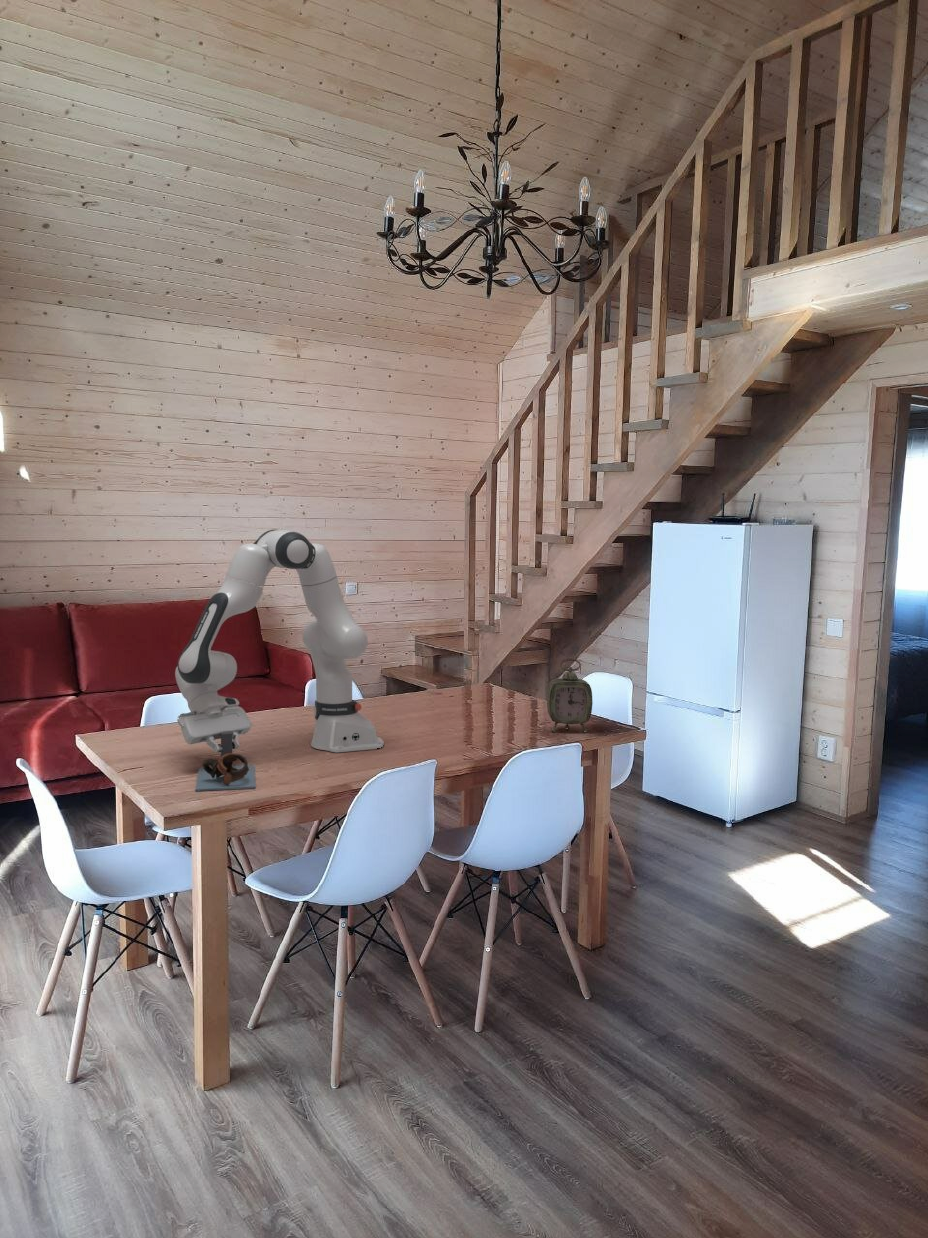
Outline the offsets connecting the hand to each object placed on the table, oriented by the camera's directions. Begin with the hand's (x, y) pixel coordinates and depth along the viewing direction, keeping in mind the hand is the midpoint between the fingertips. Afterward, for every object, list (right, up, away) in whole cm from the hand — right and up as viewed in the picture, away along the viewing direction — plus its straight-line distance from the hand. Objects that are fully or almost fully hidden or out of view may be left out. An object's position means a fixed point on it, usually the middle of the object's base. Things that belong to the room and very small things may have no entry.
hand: (228, 749), depth 250 cm
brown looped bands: (+3, -7, -12) cm, 14 cm away
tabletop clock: (+101, -2, +56) cm, 116 cm away
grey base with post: (+2, -7, -8) cm, 10 cm away
